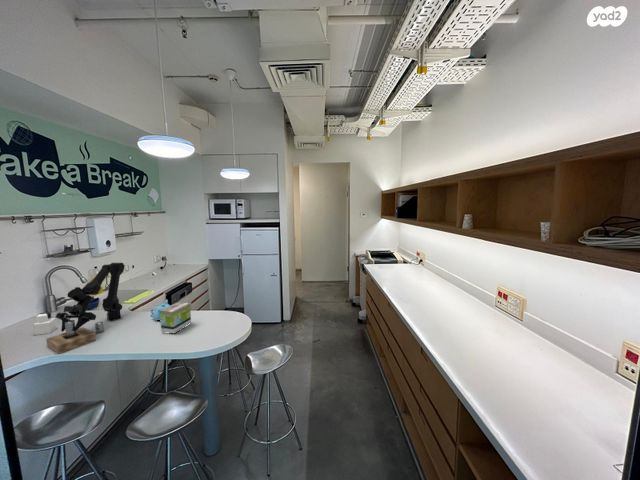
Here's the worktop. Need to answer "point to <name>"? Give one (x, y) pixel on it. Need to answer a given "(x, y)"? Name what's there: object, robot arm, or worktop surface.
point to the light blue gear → (158, 310)
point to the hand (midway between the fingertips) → (68, 331)
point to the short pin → (99, 327)
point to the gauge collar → (70, 340)
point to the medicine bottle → (44, 324)
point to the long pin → (70, 329)
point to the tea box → (175, 317)
